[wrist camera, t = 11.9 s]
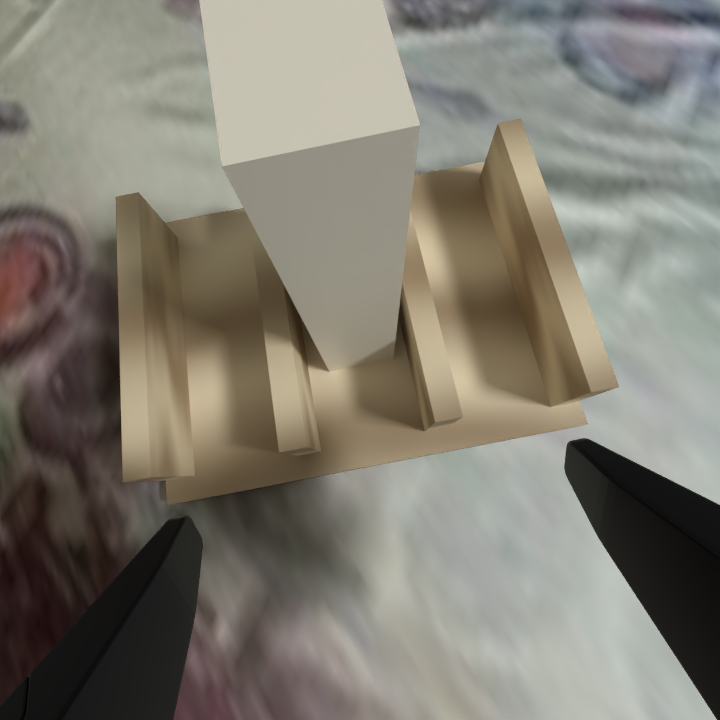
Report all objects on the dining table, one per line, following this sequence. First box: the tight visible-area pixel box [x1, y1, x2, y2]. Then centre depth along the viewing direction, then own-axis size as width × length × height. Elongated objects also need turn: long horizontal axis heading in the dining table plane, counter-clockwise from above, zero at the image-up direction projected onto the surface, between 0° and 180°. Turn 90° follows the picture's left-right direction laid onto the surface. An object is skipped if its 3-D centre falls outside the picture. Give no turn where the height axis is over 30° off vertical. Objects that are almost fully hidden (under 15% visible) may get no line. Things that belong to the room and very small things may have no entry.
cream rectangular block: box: [200, 0, 420, 372], centre depth 13 cm, size 5×3×13 cm, turn 11°
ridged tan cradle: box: [116, 119, 619, 505], centre depth 18 cm, size 14×18×4 cm
